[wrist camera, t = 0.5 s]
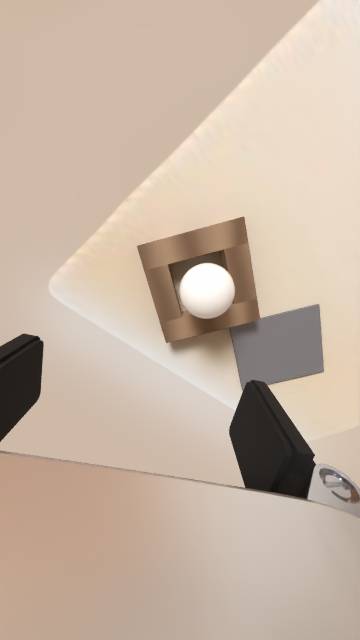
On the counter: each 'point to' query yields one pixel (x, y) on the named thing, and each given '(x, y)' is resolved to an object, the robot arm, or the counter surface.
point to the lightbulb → (207, 290)
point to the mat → (279, 346)
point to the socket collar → (193, 244)
